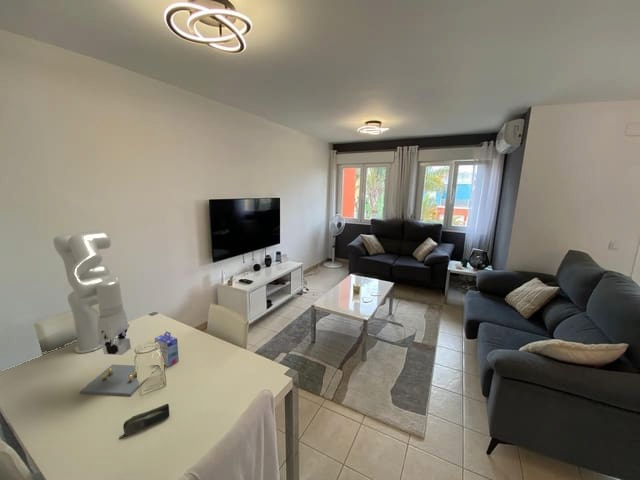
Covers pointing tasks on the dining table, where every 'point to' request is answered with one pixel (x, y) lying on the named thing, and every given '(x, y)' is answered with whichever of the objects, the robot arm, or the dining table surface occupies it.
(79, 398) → the dining table surface
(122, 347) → the block
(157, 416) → the mobile phone
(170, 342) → the ink cartridge box
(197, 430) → the dining table surface
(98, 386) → the pin tray
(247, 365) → the dining table surface
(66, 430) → the dining table surface
